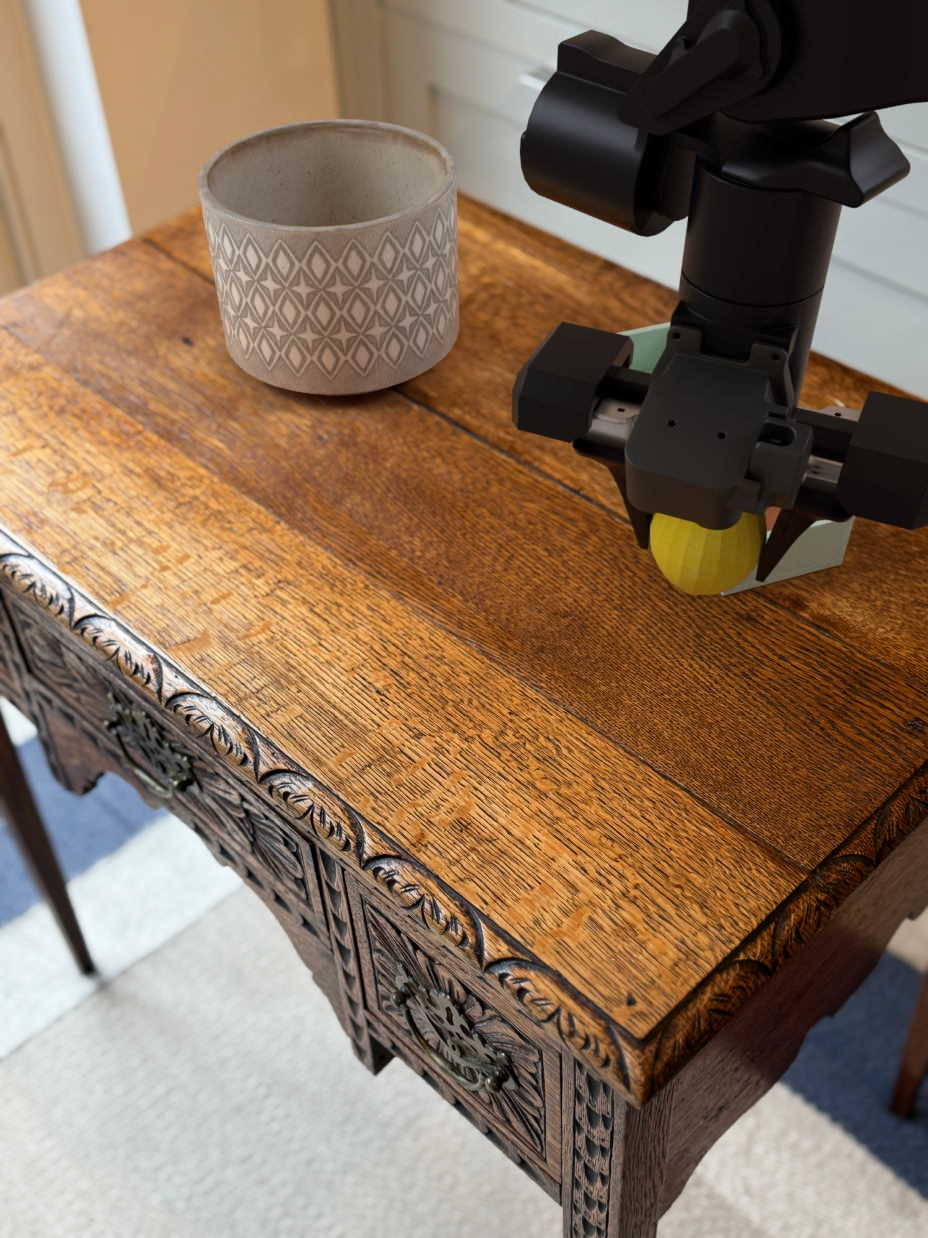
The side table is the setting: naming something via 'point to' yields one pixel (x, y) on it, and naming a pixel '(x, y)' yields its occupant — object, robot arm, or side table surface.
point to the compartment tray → (810, 549)
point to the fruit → (707, 552)
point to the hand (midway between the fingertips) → (702, 560)
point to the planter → (334, 253)
